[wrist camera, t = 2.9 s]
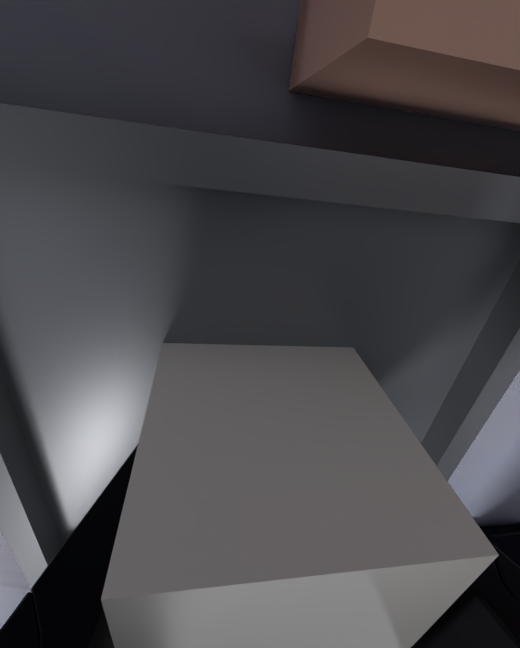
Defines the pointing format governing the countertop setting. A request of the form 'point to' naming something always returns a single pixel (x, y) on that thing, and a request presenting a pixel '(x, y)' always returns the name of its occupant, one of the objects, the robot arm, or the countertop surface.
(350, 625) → the white cube
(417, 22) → the orange square tray
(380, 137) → the countertop surface
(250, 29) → the countertop surface
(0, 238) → the parts tray
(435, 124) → the countertop surface
